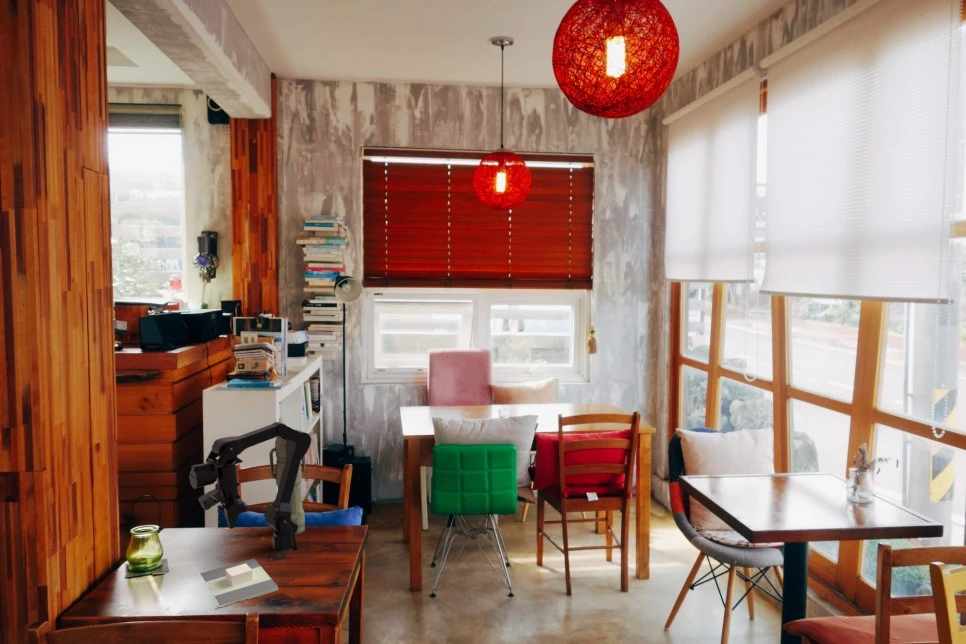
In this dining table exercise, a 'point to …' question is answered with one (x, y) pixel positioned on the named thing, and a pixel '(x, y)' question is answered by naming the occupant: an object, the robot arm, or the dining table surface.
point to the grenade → (296, 498)
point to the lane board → (240, 585)
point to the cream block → (239, 574)
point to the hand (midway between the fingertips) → (231, 528)
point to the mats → (242, 591)
